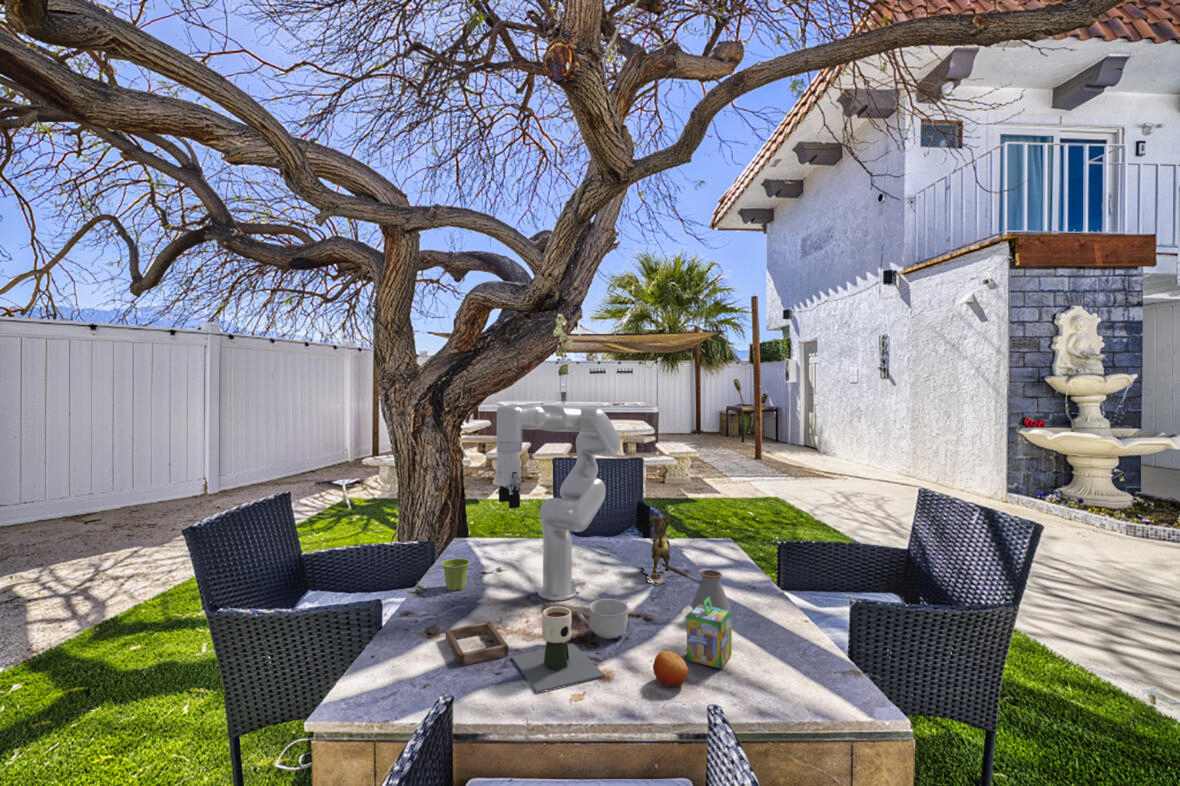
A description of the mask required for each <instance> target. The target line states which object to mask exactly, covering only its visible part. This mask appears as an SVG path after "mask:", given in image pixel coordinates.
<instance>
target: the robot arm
mask: <svg viewBox="0 0 1180 786" xmlns="http://www.w3.org/2000/svg"><path fill="white" fill-rule="evenodd" d="M523 430H533V431H534V430H541V431H547V432H561V433H562V432H565V433H566V432H568V433H569V432H571V433H578V434H577V436H576V437H575V438H576V440H575V448H576V463H575V464H574V466H573V467H572V469H571V470H570V472H569V474H568V475H567V476H566V478H565V479H564V480H563V482H562V484H561V486H560V490H559V495H560V498H559V497H551V498H547V499H546V500H545V501H544V502H543V503H542V505H541V506H540V509H539V510H540V511H539V516H540V522H541V529H542V587H540V588H539V589H538V590H537V594H538V597H540V598H541V599H543V600H546V599H547V600H546V601H555V602H556V601H558V600H559V601H566V600H569V599H573V598H574V597H575V596H576V595H577V588H578V587H583V586H586V581H585V579H579V578H574V579H573V578H572V577H573V573H572V572H573V571H572V570H573V569H572V566H573V540H572V535H571V532H577V533H579V532H580V533H581V532H583V531H585V530H586V529H587V528H588V527H589V525H591V523H592V521H593V519H594V517H596V514H597V513H598V511H599V510H600V508H601V506H602V504H603V502H604V501H605V498H606V484H605V482H604V481H603V480H602V479H601V478H598V477H597V476H598V475H599V466H598V464H597V461H596V457H595V456H608V457H609V456H614V455H616V454H617V453H618V452H619V451H620V448H621V438H620V436H619V434H618V432H617V430H616V429H615V427H614V425H613V423H612V421H611V420H610V418H609V417H608V415H607V414H606V413H605V411H603V410H602V409H601V408H597V407H578V406H564V405H535V404H509V405H504V406H503V405H502V406H499V407H498V408H497V410H496V453H497V456H496V457H497V458H496V470H495V471H496V473H495V475H496V476H495V483H497V484H498V502H499V503H506V502H508V508H509V509H519V508H521V484H522V482H521V481H522V471H521V470H522V468H521V465H522V464H521V454H522V453H523Z"/></svg>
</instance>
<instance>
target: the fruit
mask: <svg viewBox="0 0 1180 786" xmlns="http://www.w3.org/2000/svg"><path fill="white" fill-rule="evenodd" d="M652 666H653V667H652V669H653V674H654V676H655V678H656V682H657V687H658V688H660V686H665V687H669V688H679V687H681V686H682V685H683V683H684V682H685V680H686V679H687V678H688V673H689V667H688V666H687V664H686V662H685V660H684V658H682V657H681V656H680V655H679V654H677V653H675V652H673V651H671V650H669V651H667V650H665V651H660V652H658V653H657V654H656V656H655V658H654V662H653V665H652Z"/></svg>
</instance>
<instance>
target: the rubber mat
mask: <svg viewBox="0 0 1180 786" xmlns="http://www.w3.org/2000/svg"><path fill="white" fill-rule="evenodd" d="M567 645H568V652H569V660H567V665H568V666H567V667H564V668H561V669H555V668H551V667H549V666H546V665H545V664H544V657H545V649H539V650H535V651H530V652H525V653H521V654H516V655H511V660H512V661H513V663H514V662H515V663H514V664H515V665H516V667H517V666H518V667H517V668H518V670H519V669H520V670H521V671H520V670H519V671H520V672H521V674H522V673H523V674H522V676H523V677H524V676H525V677H526V678H525V677H524V678H525V680H526V681H527V680H528V681H529V682H530V683H529V682H528V681H527V682H528V683H529V684H531V685H532V686H531V685H530V686H531V687H533V688H534V689H533V688H532V689H533V690H534V692H535V691H536V692H537V693H538V694H540V693H539V692H542V691H545V690H550V689H554V688H558V687H562V688H564V687H563V686H566V687H569V686H568V685H570V686H573V685H572V684H574V685H577V684H576V683H578V684H581V682H582V683H586V682H590V681H594V680H598V679H601V678H605V673H604V672H603V671H602V670H601V669H600V668H599V667H598V666H596V664H595V663H594V662H592V660H591V659H590V658H589V657H588V656H587V655H585V653H584V652H582V650H580V648H579V647H578V646H577V645H575V644H574V642H573V643H567ZM569 663H570V664H569ZM597 678H598V679H597ZM589 680H590V681H589ZM585 681H586V682H585ZM558 689H559V688H558ZM554 690H555V689H554ZM550 691H551V690H550ZM536 692H535V693H536ZM537 693H536V694H537ZM542 693H543V692H542Z"/></svg>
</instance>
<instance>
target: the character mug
mask: <svg viewBox="0 0 1180 786" xmlns="http://www.w3.org/2000/svg"><path fill="white" fill-rule="evenodd" d="M541 613H542V615H541V616H542V619H541V625H542V626H541V627H542V628H541V629H542V630H541V632H542V633H541V635H542V639H543V640H544V641H545V642H546V644H545V657H544V664H545V665H546V666H549V667H551V668H555V669H561V668H564V667H567V666H568V665H567V660H569V652H568V645H567V644H568V641H570V640H571V638H572V635H573V634H572V620H573V619H572V611H571V609H569V608H567V607H565V606H551V607H547V608H545V609H543V610H542V612H541ZM569 664H570V663H569Z"/></svg>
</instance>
